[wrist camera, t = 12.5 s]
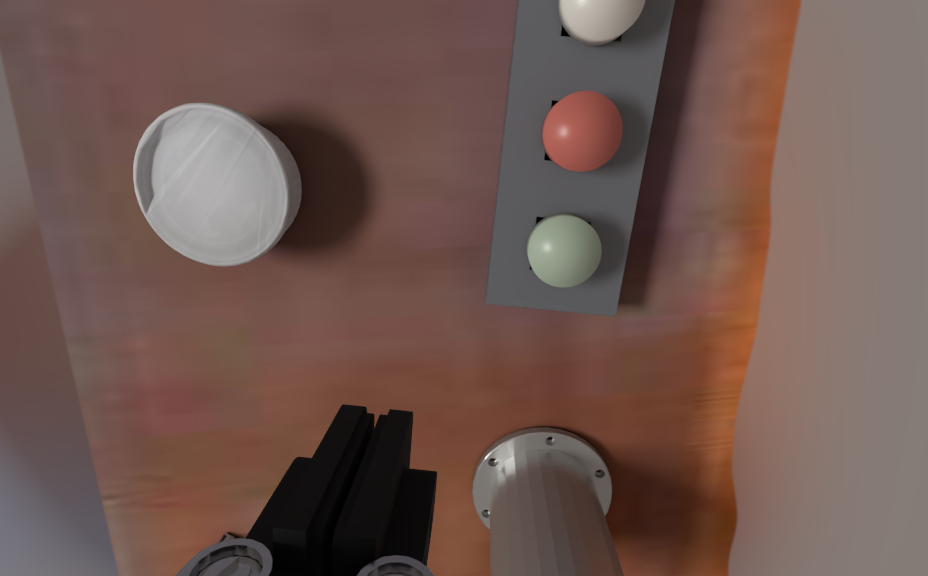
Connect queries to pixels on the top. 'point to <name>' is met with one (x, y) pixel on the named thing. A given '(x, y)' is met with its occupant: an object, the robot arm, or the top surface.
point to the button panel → (560, 190)
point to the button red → (582, 131)
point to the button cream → (598, 19)
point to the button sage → (563, 250)
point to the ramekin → (216, 184)
